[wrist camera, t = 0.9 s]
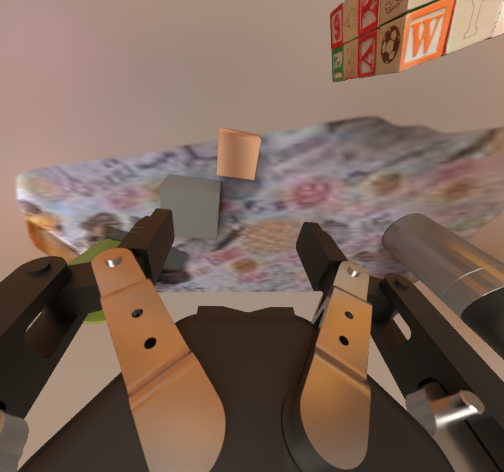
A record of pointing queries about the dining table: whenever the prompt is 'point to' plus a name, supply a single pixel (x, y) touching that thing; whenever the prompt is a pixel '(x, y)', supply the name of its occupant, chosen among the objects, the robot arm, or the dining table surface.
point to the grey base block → (192, 205)
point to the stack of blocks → (406, 33)
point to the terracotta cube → (237, 153)
